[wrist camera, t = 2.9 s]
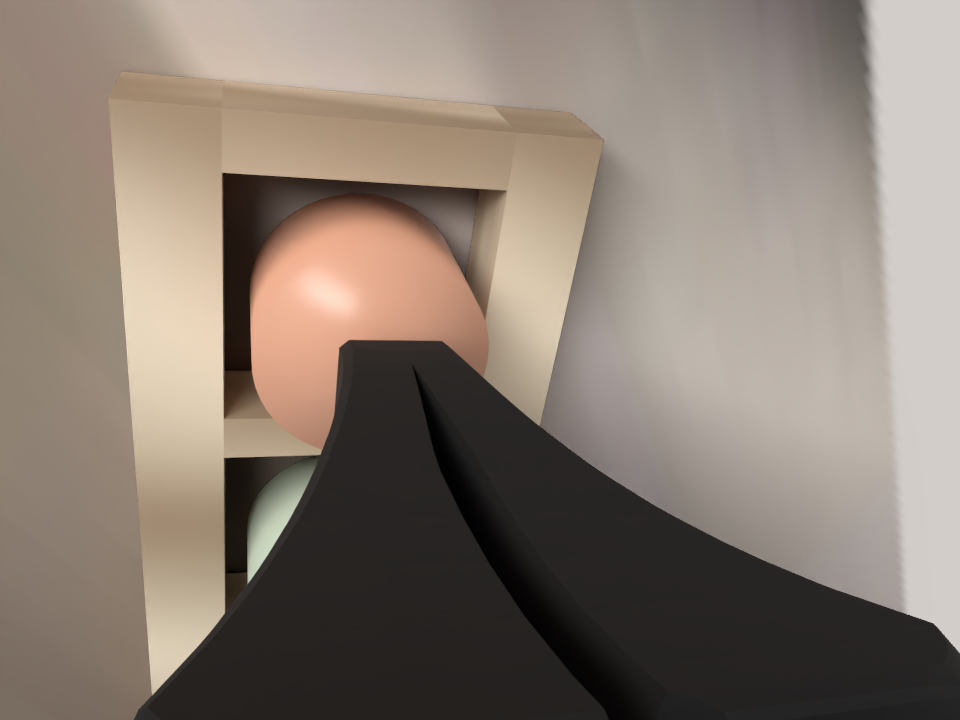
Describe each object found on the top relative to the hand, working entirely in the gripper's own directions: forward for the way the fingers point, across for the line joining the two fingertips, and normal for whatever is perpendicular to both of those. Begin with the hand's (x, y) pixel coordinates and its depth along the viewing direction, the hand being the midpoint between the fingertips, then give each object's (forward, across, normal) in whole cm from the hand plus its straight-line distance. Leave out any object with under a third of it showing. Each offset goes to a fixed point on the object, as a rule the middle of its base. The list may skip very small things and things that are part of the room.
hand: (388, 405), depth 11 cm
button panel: (+4, 0, +5) cm, 7 cm away
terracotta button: (+4, 0, 0) cm, 4 cm away
